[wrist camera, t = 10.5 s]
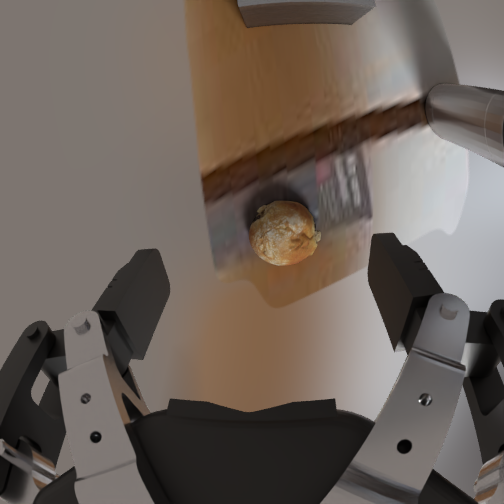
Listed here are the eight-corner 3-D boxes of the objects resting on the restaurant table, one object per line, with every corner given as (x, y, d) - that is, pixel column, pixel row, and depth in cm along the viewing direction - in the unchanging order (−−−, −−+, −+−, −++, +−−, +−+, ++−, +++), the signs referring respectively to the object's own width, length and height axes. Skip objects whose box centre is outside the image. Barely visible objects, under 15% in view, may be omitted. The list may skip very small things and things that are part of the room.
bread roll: (281, 184, 43) (260, 189, 36) (335, 222, 41) (324, 236, 34) (253, 233, 48) (229, 246, 41) (301, 269, 46) (284, 290, 39)
